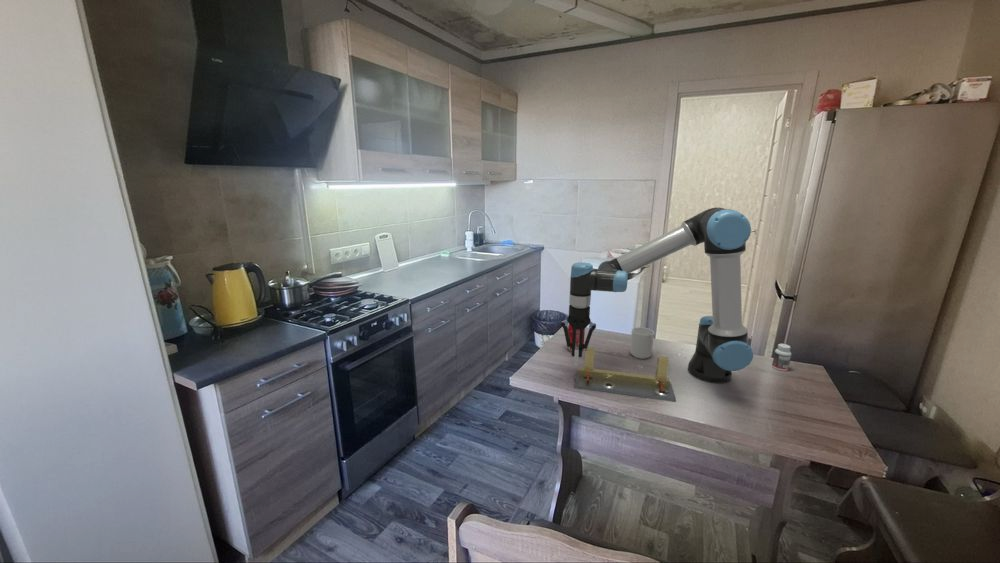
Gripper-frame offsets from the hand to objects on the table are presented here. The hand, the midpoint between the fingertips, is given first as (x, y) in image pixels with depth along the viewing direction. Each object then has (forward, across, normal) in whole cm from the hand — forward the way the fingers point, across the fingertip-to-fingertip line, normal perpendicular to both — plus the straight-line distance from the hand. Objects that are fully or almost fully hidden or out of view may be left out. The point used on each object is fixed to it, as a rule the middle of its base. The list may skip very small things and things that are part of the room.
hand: (576, 364), depth 147 cm
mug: (+6, -26, -28) cm, 39 cm away
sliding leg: (+4, -5, +2) cm, 6 cm away
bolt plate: (+5, -17, +3) cm, 18 cm away
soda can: (+6, +2, -24) cm, 25 cm away
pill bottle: (+6, -79, -29) cm, 85 cm away
